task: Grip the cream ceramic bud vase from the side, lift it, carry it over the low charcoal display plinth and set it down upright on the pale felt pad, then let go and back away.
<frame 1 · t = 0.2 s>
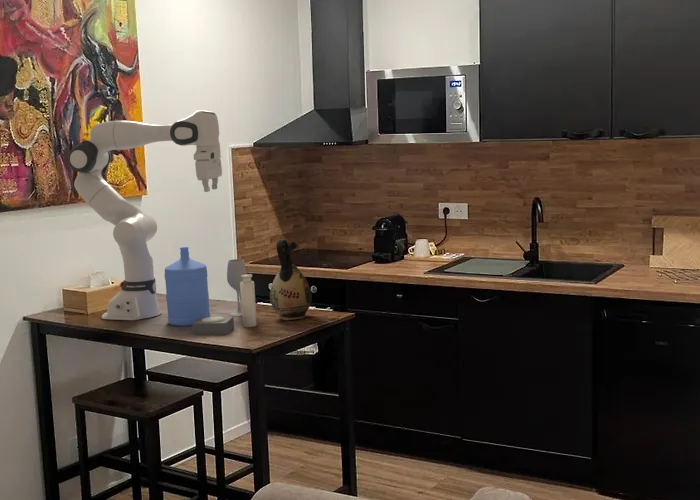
hand: (210, 190, 336), 48 cm above the table, tool pointing down, fingers open, 8 cm apart
vase: (249, 325, 322), on the table
plinth: (213, 331, 316), on the table
wineglass: (239, 314, 342), on the table
water jug: (189, 322, 333), on the table
ceramic jug: (291, 318, 331), on the table
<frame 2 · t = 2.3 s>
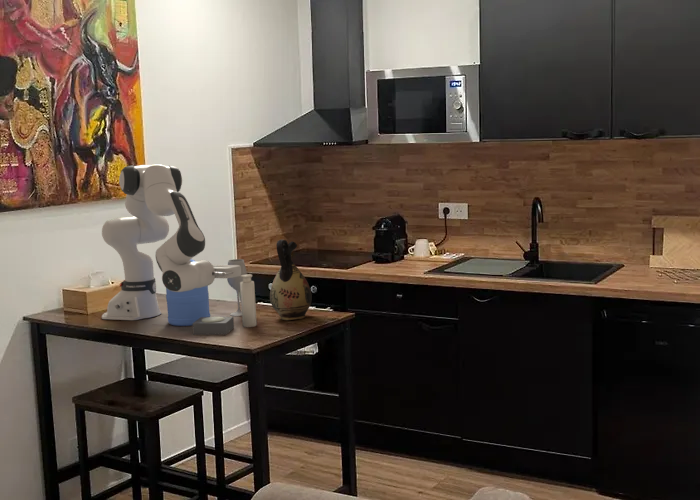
hand: (226, 267, 309), 23 cm above the table, tool horizontal, fingers open, 8 cm apart
nothing on the table moved.
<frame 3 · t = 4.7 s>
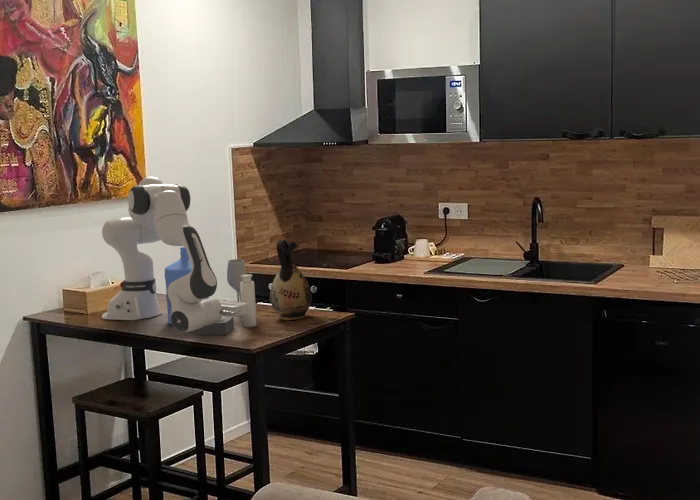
hand: (234, 303, 314), 10 cm above the table, tool horizontal, fingers open, 8 cm apart
nothing on the table moved.
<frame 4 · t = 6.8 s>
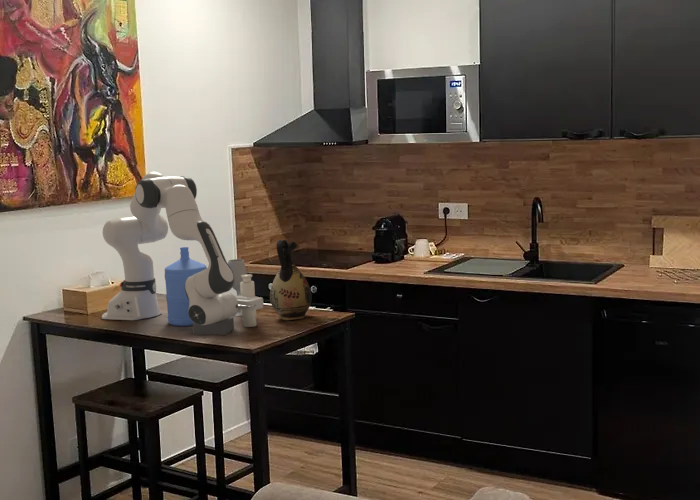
hand: (249, 297, 321), 10 cm above the table, tool horizontal, fingers closed on vase, 5 cm apart
vase: (249, 325, 322), on the table, touching gripper
everything else where it was.
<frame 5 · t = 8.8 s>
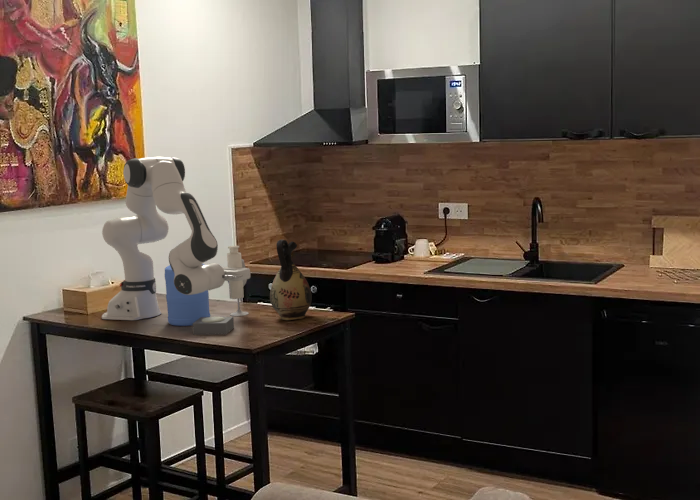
hand: (236, 269, 318), 21 cm above the table, tool horizontal, fingers closed on vase, 5 cm apart
vase: (236, 297, 319), point 11 cm above the table, touching gripper
everything else where it was.
when the fingers open (16 cm above the table, at t = 11.1 s): vase drops 1 cm, resting on plinth.
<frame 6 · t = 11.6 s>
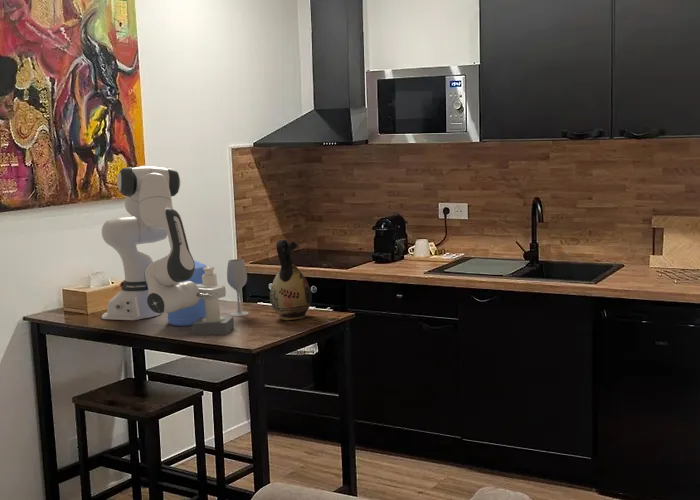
hand: (212, 286, 314), 16 cm above the table, tool horizontal, fingers open, 8 cm apart
vase: (213, 318, 315), point 4 cm above the table, touching plinth
everything else where it was.
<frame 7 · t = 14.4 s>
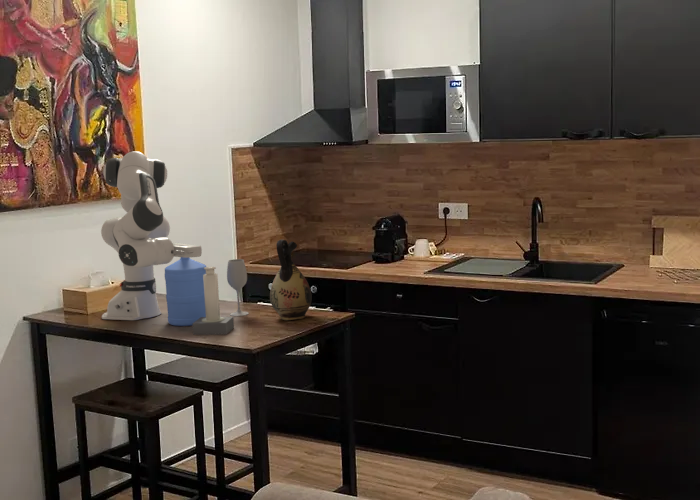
hand: (187, 247, 302), 32 cm above the table, tool horizontal, fingers open, 8 cm apart
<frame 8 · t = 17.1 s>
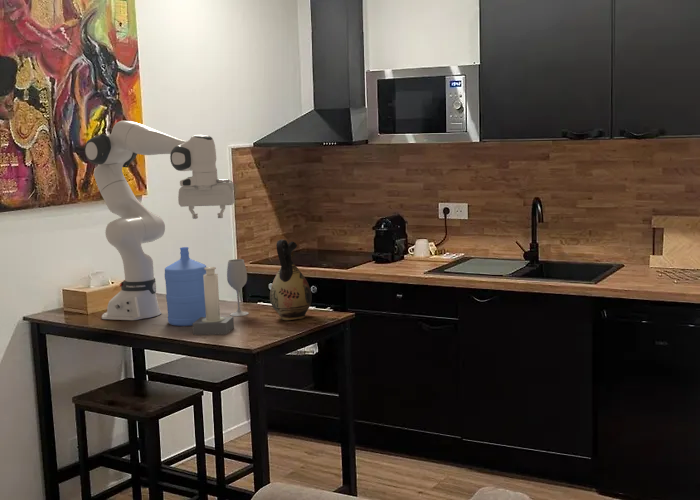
hand: (207, 218, 321), 39 cm above the table, tool pointing down, fingers open, 8 cm apart
nothing on the table moved.
at the end: vase inside the target area on the plinth (0.0 cm from its centre), point 4.3 cm above the plinth's base; vase tilted 1°; the gripper is holding nothing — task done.
